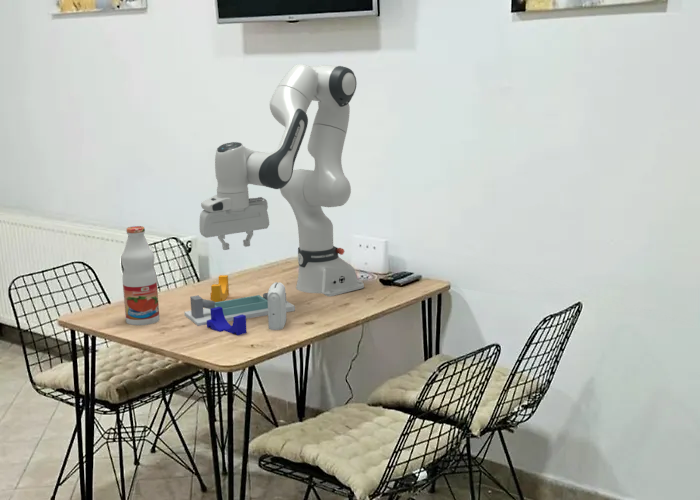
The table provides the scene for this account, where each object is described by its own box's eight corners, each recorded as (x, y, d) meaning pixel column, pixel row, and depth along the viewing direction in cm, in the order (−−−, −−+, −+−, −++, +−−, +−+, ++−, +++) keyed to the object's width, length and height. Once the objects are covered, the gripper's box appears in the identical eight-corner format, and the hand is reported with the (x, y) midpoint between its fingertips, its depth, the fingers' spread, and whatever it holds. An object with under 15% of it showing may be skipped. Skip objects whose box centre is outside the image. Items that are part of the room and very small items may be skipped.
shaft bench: (278, 300, 260) (277, 278, 259) (294, 310, 250) (294, 287, 248) (184, 316, 246) (183, 293, 245) (198, 328, 236) (196, 304, 234)
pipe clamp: (215, 294, 268) (214, 275, 266) (228, 294, 268) (227, 275, 266) (206, 306, 256) (205, 286, 255) (220, 306, 256) (219, 286, 255)
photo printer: (282, 332, 232) (281, 289, 229) (267, 332, 232) (265, 289, 229) (287, 320, 242) (286, 278, 239) (272, 320, 242) (271, 278, 239)
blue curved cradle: (207, 330, 235) (205, 310, 233) (220, 326, 238) (219, 306, 236) (233, 340, 226) (232, 319, 225) (246, 336, 230) (245, 315, 228)
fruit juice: (155, 315, 248) (148, 222, 241) (163, 325, 239) (156, 228, 233) (123, 320, 244) (115, 226, 237) (129, 330, 236) (121, 232, 229)
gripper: (262, 194, 246) (265, 240, 250) (195, 203, 237) (199, 250, 240) (271, 197, 241) (274, 244, 245) (203, 207, 231) (207, 255, 235)
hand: (236, 247), depth 242 cm, fingers open, 5 cm apart
